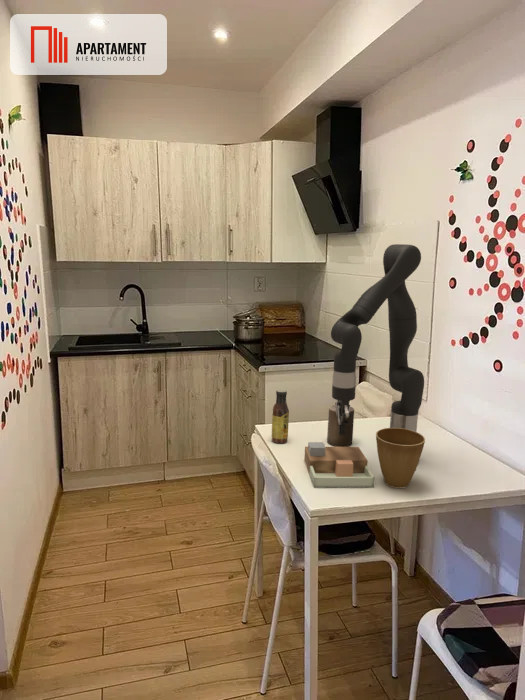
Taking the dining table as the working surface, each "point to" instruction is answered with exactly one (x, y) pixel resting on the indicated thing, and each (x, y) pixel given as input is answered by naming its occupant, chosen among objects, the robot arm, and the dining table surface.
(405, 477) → the plant pot
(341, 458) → the brown wooden block
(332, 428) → the pillar candle
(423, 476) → the dining table surface
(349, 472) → the pink square block
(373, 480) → the sage tray
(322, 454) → the grey block
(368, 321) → the robot arm
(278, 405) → the sauce bottle
